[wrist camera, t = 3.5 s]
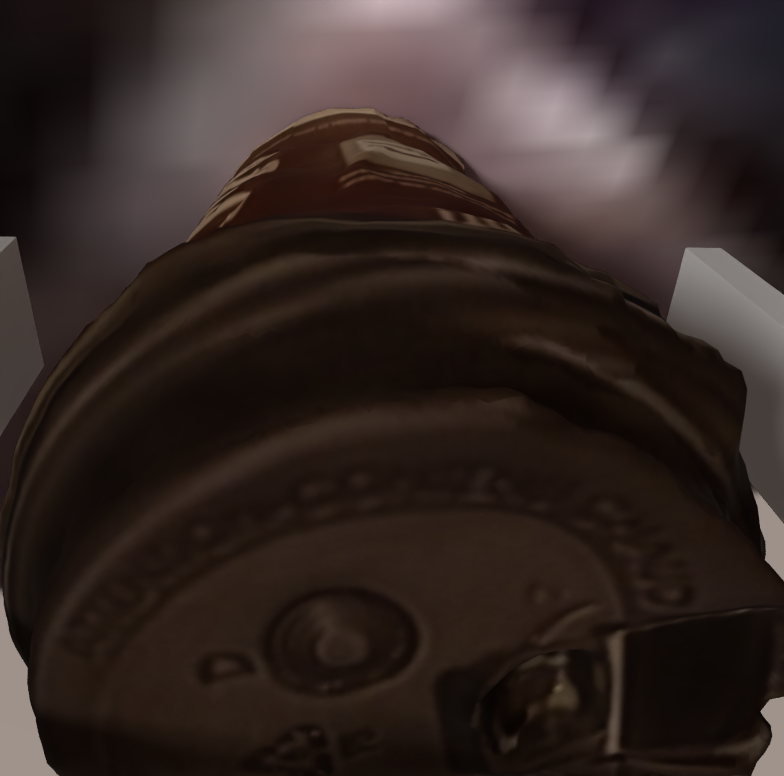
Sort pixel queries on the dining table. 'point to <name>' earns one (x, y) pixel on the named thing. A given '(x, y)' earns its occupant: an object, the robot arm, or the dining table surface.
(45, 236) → the dining table surface
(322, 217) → the coffee cup
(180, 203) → the dining table surface
